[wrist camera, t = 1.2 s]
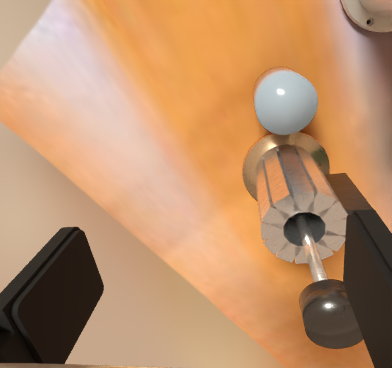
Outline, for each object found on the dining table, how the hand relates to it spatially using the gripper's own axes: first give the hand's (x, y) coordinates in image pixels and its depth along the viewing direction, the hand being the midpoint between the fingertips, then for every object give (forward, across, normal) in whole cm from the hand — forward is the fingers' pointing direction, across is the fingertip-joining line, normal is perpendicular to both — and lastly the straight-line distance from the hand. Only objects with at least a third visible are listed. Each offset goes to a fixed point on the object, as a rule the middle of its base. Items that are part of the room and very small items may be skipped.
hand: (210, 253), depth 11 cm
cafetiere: (+38, -6, +14) cm, 41 cm away
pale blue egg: (+38, -6, +2) cm, 38 cm away
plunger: (+27, -6, +14) cm, 31 cm away
